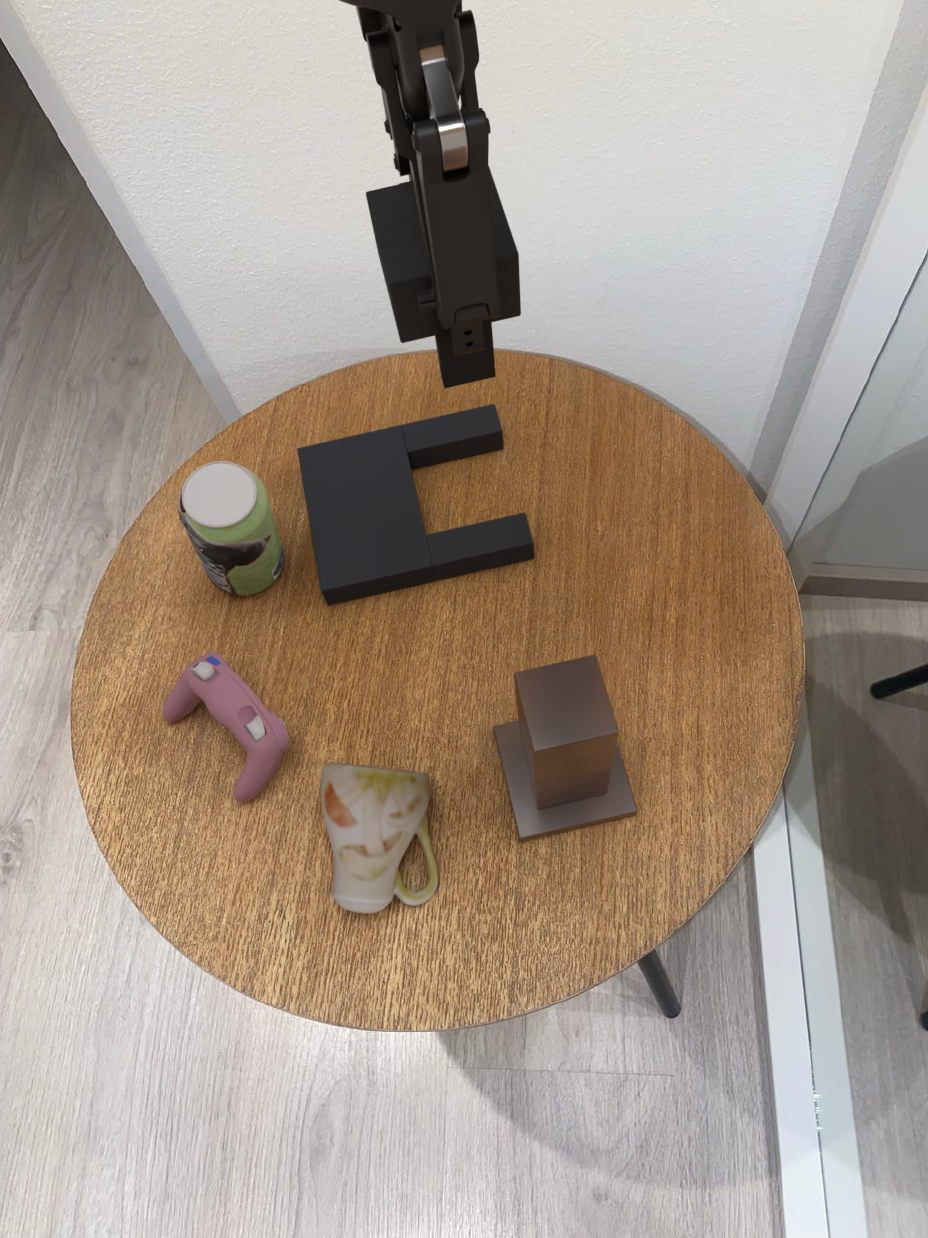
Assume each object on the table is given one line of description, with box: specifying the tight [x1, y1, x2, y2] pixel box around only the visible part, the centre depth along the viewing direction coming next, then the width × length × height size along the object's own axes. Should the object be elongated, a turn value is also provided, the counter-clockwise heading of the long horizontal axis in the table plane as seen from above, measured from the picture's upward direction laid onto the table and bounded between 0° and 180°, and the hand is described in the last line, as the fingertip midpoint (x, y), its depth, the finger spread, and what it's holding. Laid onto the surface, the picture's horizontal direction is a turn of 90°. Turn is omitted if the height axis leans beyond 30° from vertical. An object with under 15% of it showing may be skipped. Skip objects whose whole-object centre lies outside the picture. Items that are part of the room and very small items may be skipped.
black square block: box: [365, 164, 522, 344], centre depth 47 cm, size 6×6×4 cm
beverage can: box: [177, 460, 285, 596], centre depth 70 cm, size 6×7×12 cm
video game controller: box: [161, 650, 291, 804], centre depth 67 cm, size 10×5×7 cm, turn 44°
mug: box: [319, 762, 440, 914], centre depth 63 cm, size 8×10×10 cm
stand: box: [492, 654, 638, 842], centre depth 60 cm, size 8×8×14 cm
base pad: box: [296, 403, 535, 606], centre depth 75 cm, size 16×13×2 cm
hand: (454, 327), depth 51 cm, fingers closed on black square block, 6 cm apart
